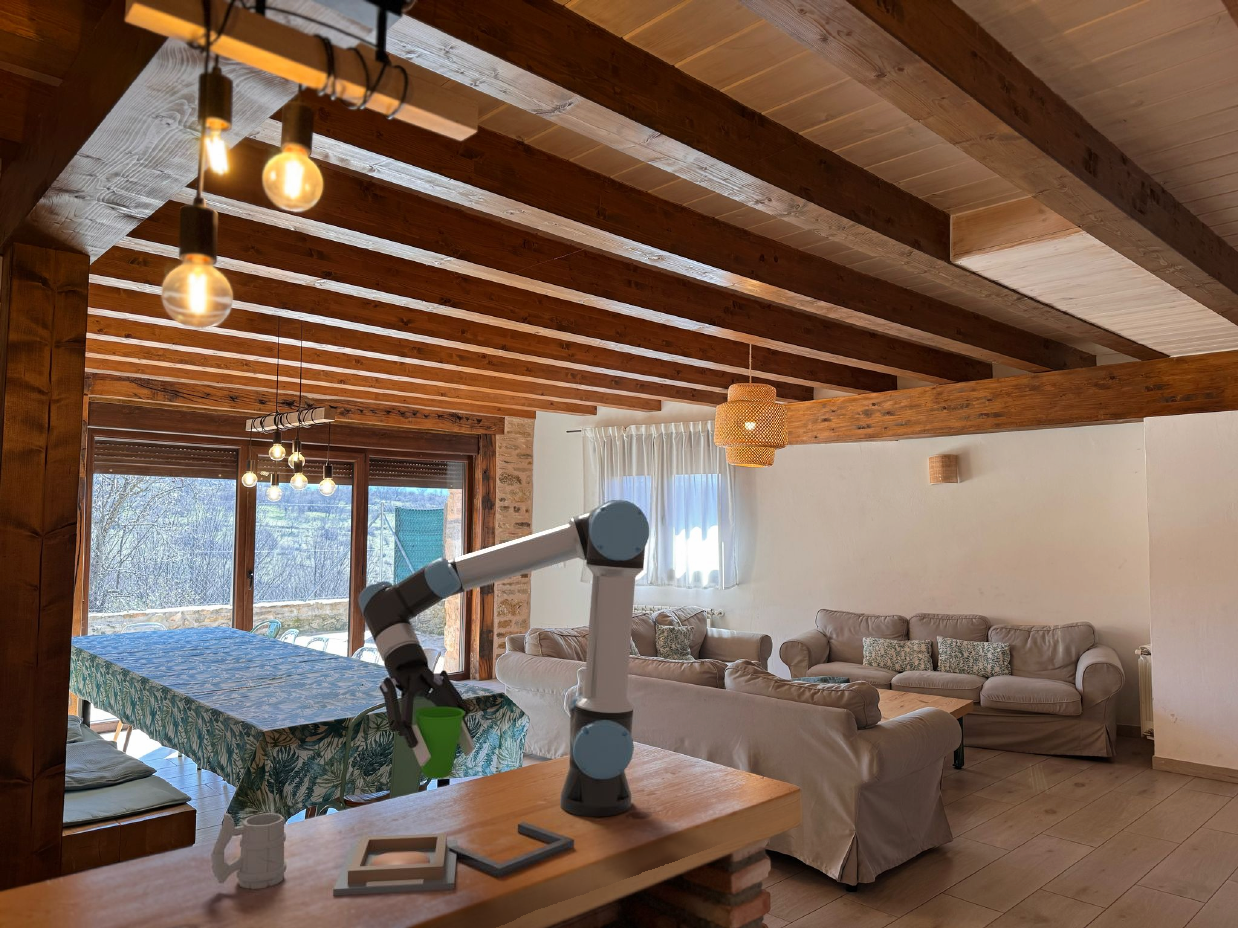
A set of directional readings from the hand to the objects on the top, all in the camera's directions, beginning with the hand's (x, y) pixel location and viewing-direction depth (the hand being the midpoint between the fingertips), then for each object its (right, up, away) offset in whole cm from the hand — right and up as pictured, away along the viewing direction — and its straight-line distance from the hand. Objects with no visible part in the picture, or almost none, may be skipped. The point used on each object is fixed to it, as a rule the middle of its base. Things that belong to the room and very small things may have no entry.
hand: (448, 756), depth 151 cm
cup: (-3, -4, +2) cm, 5 cm away
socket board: (-8, -18, -4) cm, 20 cm away
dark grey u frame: (+11, -19, +5) cm, 22 cm away
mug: (-31, -18, -10) cm, 37 cm away
